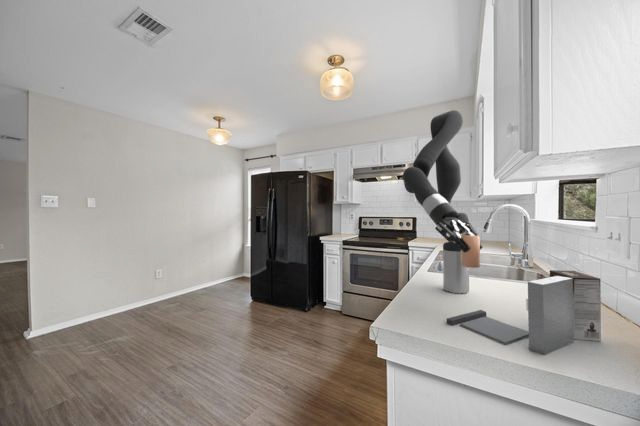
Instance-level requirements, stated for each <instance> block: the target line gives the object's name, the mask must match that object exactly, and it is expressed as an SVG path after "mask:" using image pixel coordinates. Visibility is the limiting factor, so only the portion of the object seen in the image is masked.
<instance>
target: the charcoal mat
mask: <svg viewBox="0 0 640 426" xmlns="http://www.w3.org/2000/svg"><path fill="white" fill-rule="evenodd" d="M459 325H460V327H463V329H464V328H465V329H467V330H469V331H472V332H474V333H477V334H479V335H481V336H483V337H486V338H488V339H490V340H493V341H496V342H498V343H500V344H503V345H504V346H505V345H509V344H512V343H515V342H517V341H520V340H522V339H526V338H529V330H525V329H523V328H519V327H517V326H514V325H511V324H509V323H506V322H504V321H503V322H502V321H500V320H496V319H494V318H493V317H492V318H491V317H488V316H486V317H482V318H479V319H475V320H471V321H468V322H464V323H461V324H459Z"/></svg>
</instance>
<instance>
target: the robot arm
mask: <svg viewBox="0 0 640 426" xmlns="http://www.w3.org/2000/svg"><path fill="white" fill-rule="evenodd" d="M463 123H464V119H463V116H462V114H461V112H460V111H458V110H456V109H455V110H454V109H453V110H448V111H447V112H443V113H441V114H439V115H435V116H433V118H432V119H431V121H430V134H431V135H430V136H431V139H430V140H429V141H428V142H427V143H426V144H425V145H424V146H423V147H422V148H421V150H420V151H419V153H418V155H417V156H416V158H415V159H414V161H413V165H412V166H410V167H407V168H406V169H405V170H404V171H403V174H402V181H403V185H404V188H405V190H406V192H408V193H410V194H414V196H415V198H416V200H417V202H418V203H419V204H420V206H421V207H422V208H423V209H424V211H425V213H426V214H427V215H428V217H429V218H430V219H431V220H432V221H433V223H434V224H435V225H436V226H435V228H434V230H436V232H438V233H439V234H440V235H441V236H442V237H443V238H444V239H445V240H446V242H444V243H442V259H443V260H442V261H443V263H442V268H443V269H442V271H443V273H442V276H443V278H442V279H443V282H442V285H443V287H442V288H443V291H445V290H446V291H445V292H448V291H449V293H454V294H461V293H463V294H468V293H469V292H470V269H469V267H464V266H461V250H462V251H463V252H467V251H468V250H470V246H469V245H468V244H467V243H466V242H465V241H464V240H463V238H461V235H475V236H479V234H478V233H477V231H476V230H475V227H474V226H472V224H471V223H470V221H469V217H468V215H467V214H466V213H464V212H458V211H457V209H455V208H454V207H453V206H452V205H451V202H452V199H453V198H454V196H455V193H456V192H457V191H458V189H459V187H460V185H461V181H462V178H461V176H462V175H461V165H460V163H459V162H458V160H457V158H456V157H455V156H454V155H453V154H452V153H451V151H450V150H449V148H448V144H449V143H450V142H451V141H452V140H453V138H454V137H455V136H456V135H457V134H458V133H459V132H460V130H461V129H462V126H463ZM434 164H435V174H436V175H435V176H436V186H437V190H436V188H435V187H433V185H432V184H431V182H430V180H429V179H428V178H429V175H430V172H431V170H432V168H433V166H434ZM483 247H484V246H483V245H482V244H481V243H480V251H481V250H482V249H483ZM467 292H468V293H467ZM461 295H462V294H461Z"/></svg>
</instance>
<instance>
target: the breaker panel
mask: <svg viewBox="0 0 640 426" xmlns="http://www.w3.org/2000/svg"><path fill="white" fill-rule="evenodd" d="M525 302H526V303H525V306H526V307H525V308H526V309H525V310H526V311H527V312H528V314H527V315H528V317H527V318H528V332H529V336H528V349H529V350H531V351H533V352H535V353H537V354H540V355H543V356H545V355H548V354H550V353H553V352H555V351H558V350H560V349H561V348H564V347H566V346H569V345H570V344H571V345H572V344H573V343H574V342H575V339H574V317H573V278H568V277H562V276H554V277H550V276H549V277H544V278H540V279H534V280H529V281H527V297H526V298H525Z"/></svg>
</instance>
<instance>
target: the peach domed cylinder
mask: <svg viewBox="0 0 640 426" xmlns="http://www.w3.org/2000/svg"><path fill="white" fill-rule="evenodd" d="M461 238H463V240H464V241H465V242H466V243H467V244H468V245H469V246H470V250H468V251H467V252H463V251H462V250H461V266H464V267H468V268H471V269H474V268H475V269H476V268H477V269H479V268H480V267H481V255H480V254H481V253H480V252H481V250H480V244H481V243H480V242H481V241H480V235H477V236H475V235H461Z"/></svg>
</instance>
